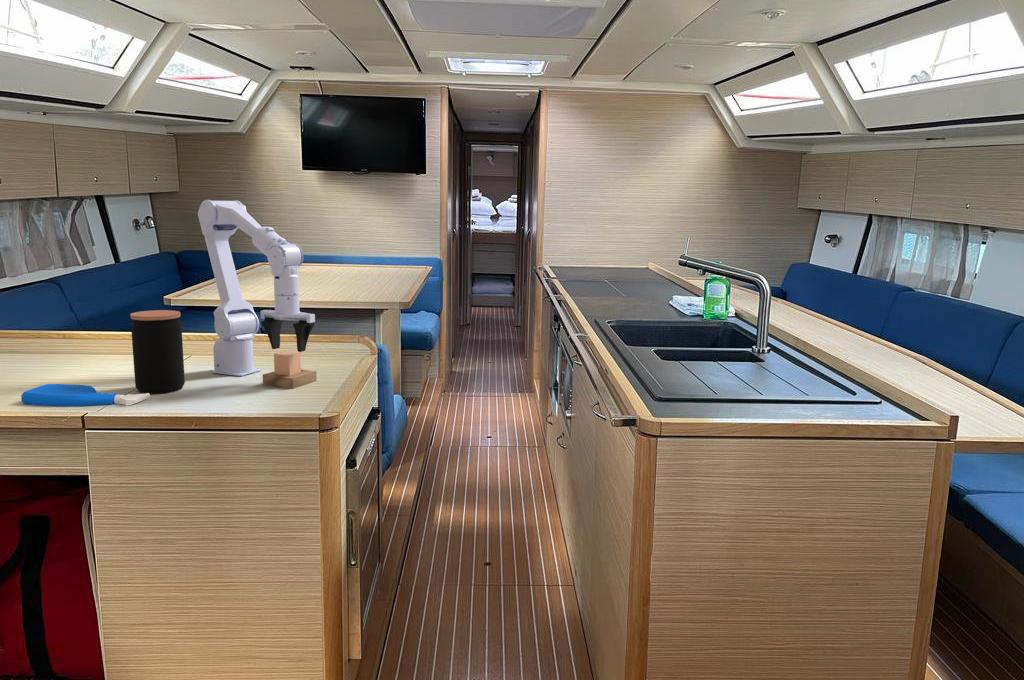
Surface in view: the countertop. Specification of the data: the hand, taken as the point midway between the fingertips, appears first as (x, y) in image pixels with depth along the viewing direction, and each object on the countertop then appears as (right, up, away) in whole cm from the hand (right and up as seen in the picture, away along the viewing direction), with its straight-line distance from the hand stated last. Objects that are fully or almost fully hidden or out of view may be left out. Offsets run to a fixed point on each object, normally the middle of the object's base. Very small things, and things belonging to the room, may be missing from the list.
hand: (288, 349), depth 188 cm
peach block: (0, -6, +1) cm, 6 cm away
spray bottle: (-39, -12, -18) cm, 45 cm away
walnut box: (0, -9, +2) cm, 9 cm away
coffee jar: (-28, -9, -7) cm, 30 cm away
